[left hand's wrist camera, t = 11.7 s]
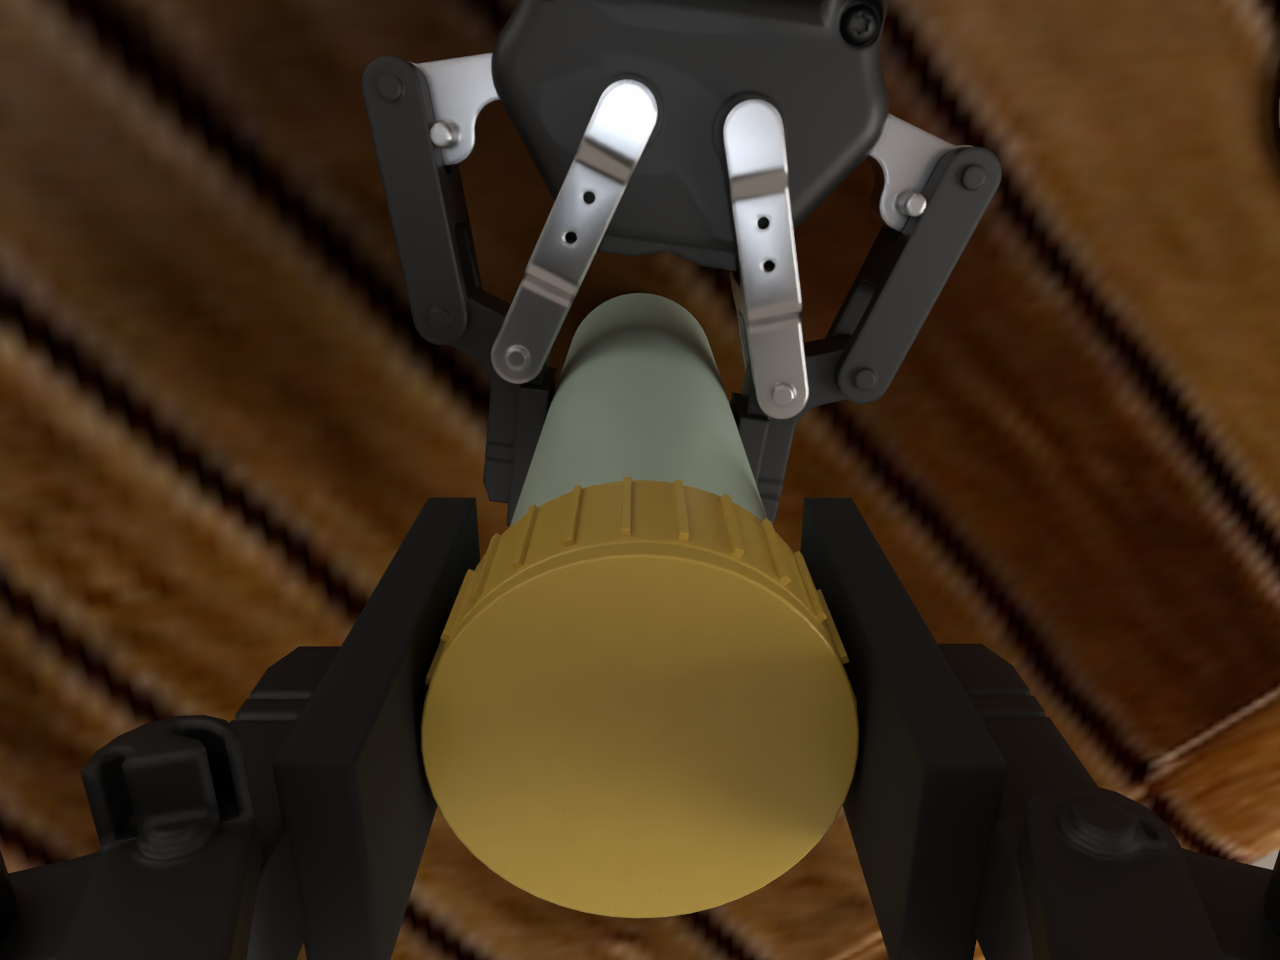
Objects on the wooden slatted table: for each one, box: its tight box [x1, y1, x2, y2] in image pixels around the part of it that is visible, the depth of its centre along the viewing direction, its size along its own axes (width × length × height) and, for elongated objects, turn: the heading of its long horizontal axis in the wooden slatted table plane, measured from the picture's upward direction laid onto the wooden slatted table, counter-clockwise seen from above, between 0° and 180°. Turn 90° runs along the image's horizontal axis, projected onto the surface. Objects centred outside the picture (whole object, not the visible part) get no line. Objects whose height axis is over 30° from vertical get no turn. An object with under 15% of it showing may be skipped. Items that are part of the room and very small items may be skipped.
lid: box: [421, 477, 859, 918], centre depth 12 cm, size 5×5×2 cm
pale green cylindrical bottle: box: [509, 293, 768, 528], centre depth 20 cm, size 4×4×19 cm
